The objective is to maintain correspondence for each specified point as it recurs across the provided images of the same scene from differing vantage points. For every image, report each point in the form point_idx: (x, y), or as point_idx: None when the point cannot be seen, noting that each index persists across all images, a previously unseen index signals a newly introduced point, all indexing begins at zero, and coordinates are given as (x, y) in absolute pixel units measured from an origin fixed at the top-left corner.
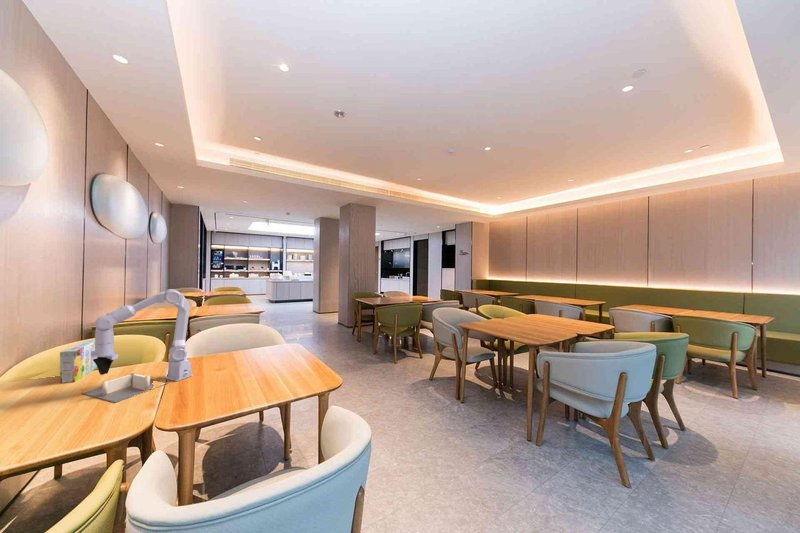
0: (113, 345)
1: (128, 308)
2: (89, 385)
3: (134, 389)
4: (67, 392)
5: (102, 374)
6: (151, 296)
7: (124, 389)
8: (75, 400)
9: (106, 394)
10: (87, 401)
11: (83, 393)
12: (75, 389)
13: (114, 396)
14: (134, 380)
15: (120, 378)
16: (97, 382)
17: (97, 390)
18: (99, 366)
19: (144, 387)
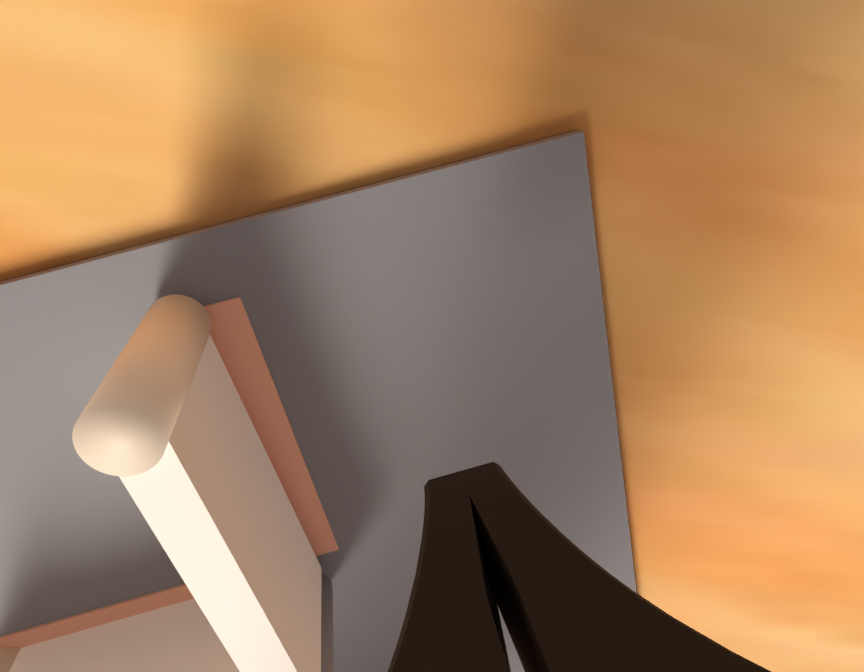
0: None
1: None
2: (836, 267)
3: (140, 576)
4: (832, 13)
5: (427, 492)
6: None
7: None
8: (344, 3)
9: None
10: (140, 112)
11: (537, 145)
12: (852, 117)
13: (23, 389)
14: (217, 668)
15: (207, 613)
16: (854, 349)
17: (500, 292)
18: (484, 629)
19: (15, 670)
